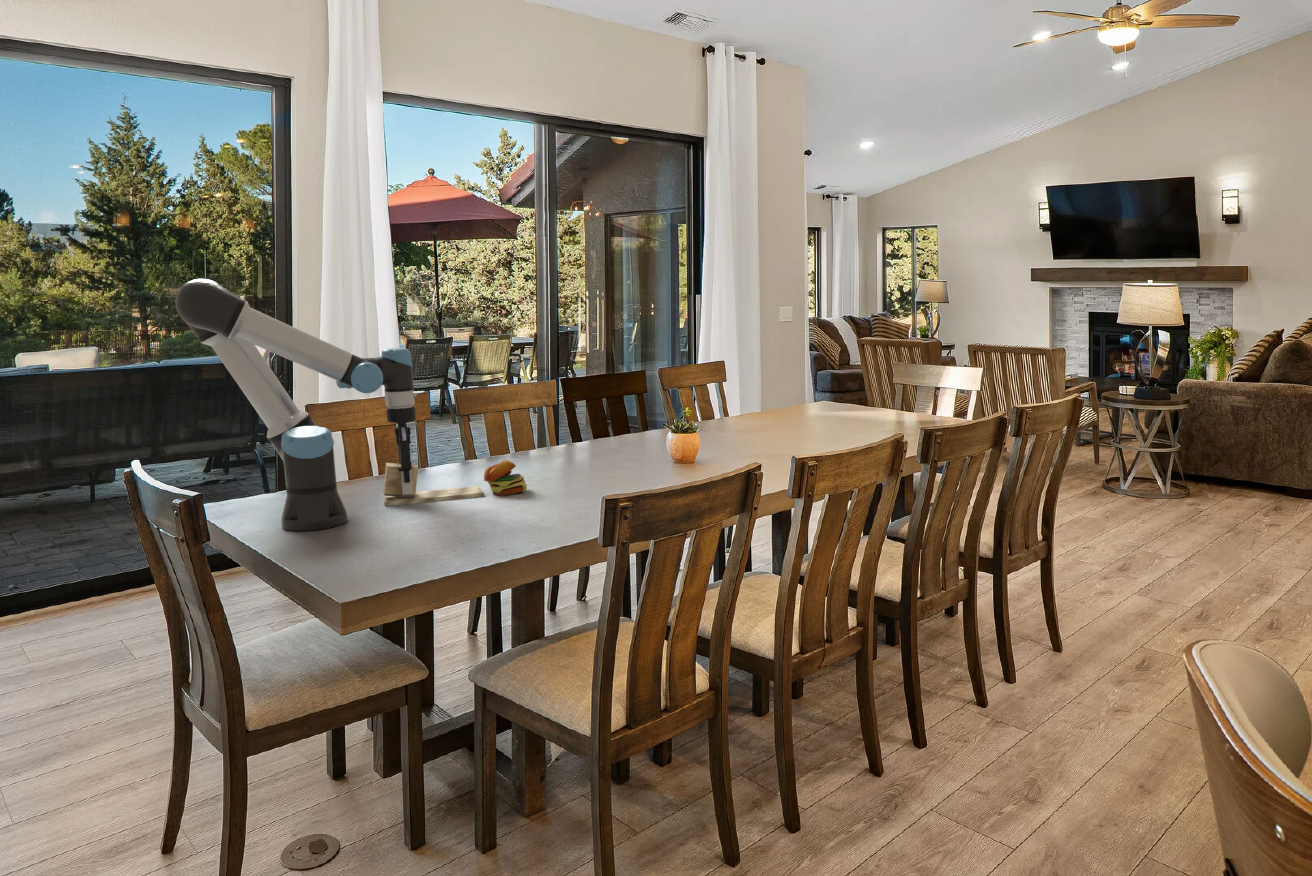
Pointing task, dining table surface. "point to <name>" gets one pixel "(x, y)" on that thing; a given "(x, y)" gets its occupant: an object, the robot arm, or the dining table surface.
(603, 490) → the dining table surface
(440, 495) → the board
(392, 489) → the block
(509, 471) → the cheeseburger
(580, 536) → the dining table surface
